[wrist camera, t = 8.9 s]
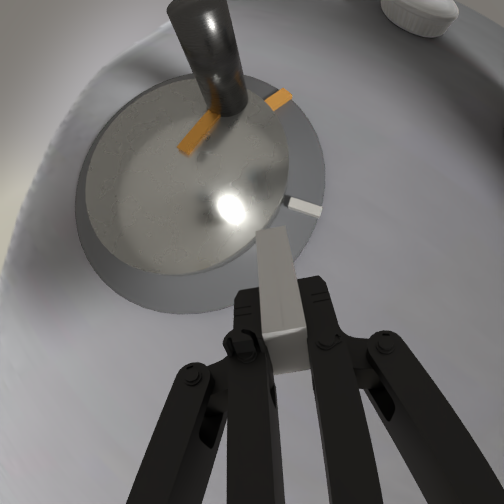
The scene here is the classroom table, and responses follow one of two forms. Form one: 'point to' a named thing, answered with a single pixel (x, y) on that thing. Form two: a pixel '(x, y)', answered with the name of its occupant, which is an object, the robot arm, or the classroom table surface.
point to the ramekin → (421, 15)
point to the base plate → (246, 266)
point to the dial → (190, 160)
